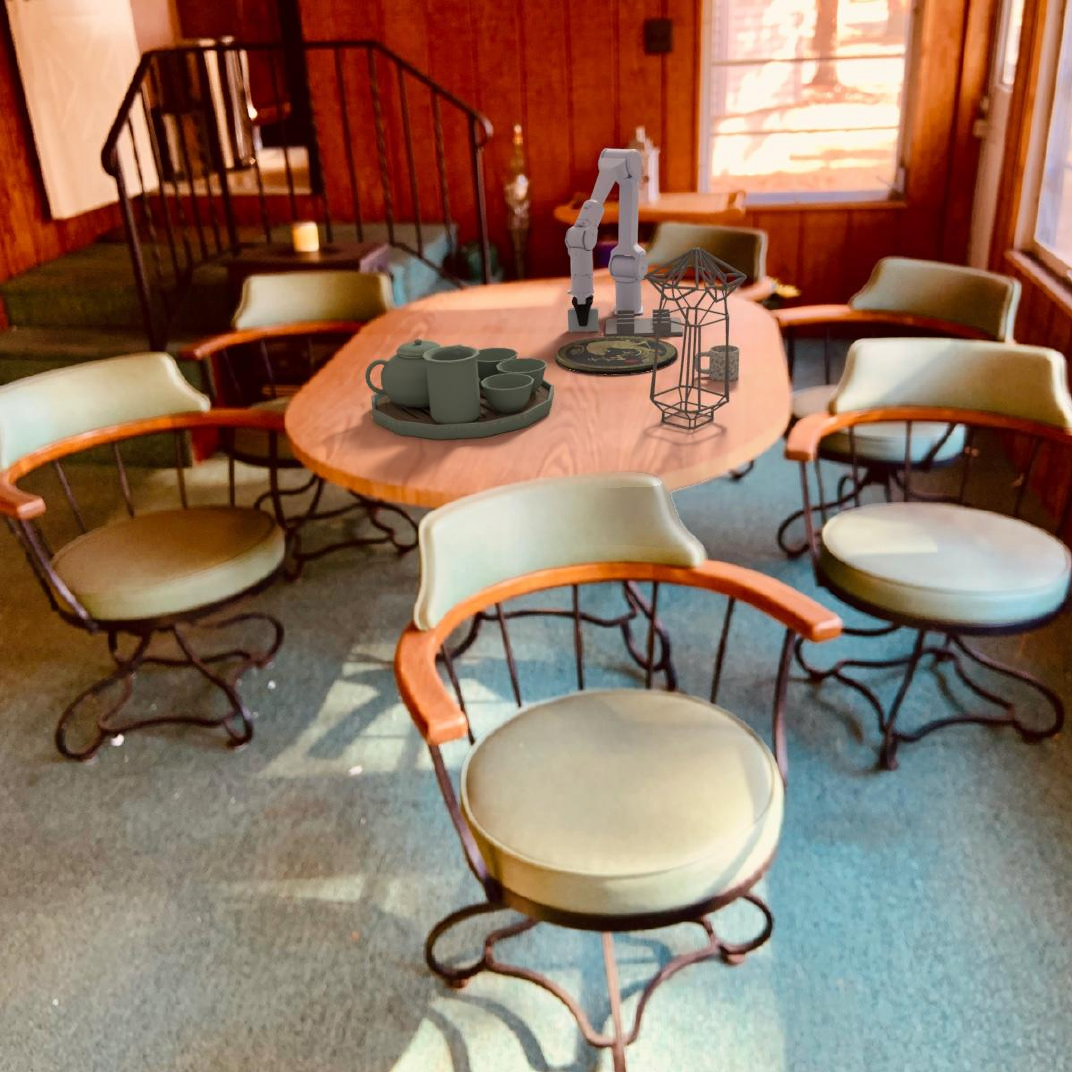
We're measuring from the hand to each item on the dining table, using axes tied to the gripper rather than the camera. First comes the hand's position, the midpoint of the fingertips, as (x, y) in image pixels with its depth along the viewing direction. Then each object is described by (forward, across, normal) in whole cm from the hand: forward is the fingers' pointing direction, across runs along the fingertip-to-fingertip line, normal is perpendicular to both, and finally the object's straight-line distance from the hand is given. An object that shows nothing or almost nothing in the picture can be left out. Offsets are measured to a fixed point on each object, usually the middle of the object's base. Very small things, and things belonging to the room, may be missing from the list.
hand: (583, 324), depth 286 cm
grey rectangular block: (+2, 0, 0) cm, 2 cm away
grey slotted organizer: (+2, 0, +16) cm, 16 cm away
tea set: (+2, +61, -24) cm, 66 cm away
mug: (+2, +43, +32) cm, 54 cm away
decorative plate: (+2, +25, +9) cm, 27 cm away
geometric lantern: (+2, +72, +25) cm, 76 cm away
